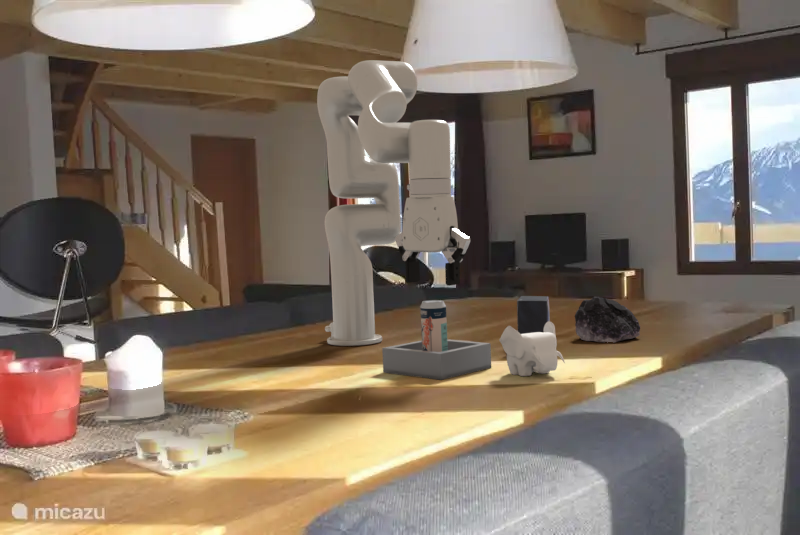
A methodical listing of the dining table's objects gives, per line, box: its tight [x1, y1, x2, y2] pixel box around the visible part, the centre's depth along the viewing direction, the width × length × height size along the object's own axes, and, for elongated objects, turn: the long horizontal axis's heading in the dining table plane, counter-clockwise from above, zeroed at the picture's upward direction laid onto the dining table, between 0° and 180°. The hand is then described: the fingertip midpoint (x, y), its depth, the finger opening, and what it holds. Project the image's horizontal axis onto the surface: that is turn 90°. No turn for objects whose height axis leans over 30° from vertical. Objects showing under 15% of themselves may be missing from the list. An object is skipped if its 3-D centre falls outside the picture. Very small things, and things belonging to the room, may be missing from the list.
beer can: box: [419, 299, 448, 352], centre depth 158 cm, size 5×5×12 cm
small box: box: [516, 295, 551, 334], centre depth 181 cm, size 11×6×10 cm, turn 168°
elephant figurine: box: [499, 320, 566, 377], centre depth 150 cm, size 10×12×9 cm
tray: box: [381, 339, 492, 381], centre depth 158 cm, size 14×14×4 cm
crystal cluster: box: [574, 296, 641, 344], centre depth 190 cm, size 13×14×10 cm
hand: (432, 283), depth 158 cm, fingers open, 9 cm apart
